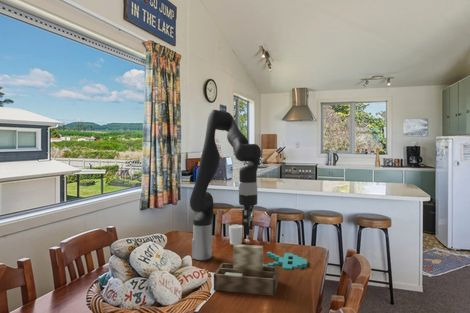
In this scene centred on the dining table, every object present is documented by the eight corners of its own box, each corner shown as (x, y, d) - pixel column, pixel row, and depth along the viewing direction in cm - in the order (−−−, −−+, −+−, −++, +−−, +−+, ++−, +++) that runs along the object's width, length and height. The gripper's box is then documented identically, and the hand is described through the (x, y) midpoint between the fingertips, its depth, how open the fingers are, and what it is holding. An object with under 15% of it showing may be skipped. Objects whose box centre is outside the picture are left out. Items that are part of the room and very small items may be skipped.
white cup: (238, 246, 185) (237, 228, 185) (226, 244, 190) (226, 226, 189) (245, 242, 192) (245, 225, 192) (233, 240, 196) (233, 224, 196)
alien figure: (262, 270, 152) (307, 274, 148) (262, 265, 151) (307, 269, 147) (267, 256, 171) (306, 258, 167) (267, 251, 171) (306, 254, 167)
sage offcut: (223, 288, 130) (223, 276, 130) (225, 284, 134) (225, 272, 134) (240, 290, 128) (240, 277, 128) (242, 285, 132) (242, 273, 132)
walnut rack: (213, 292, 129) (213, 274, 129) (221, 278, 142) (221, 262, 141) (275, 298, 124) (275, 279, 124) (277, 283, 137) (278, 266, 136)
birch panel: (233, 282, 136) (233, 246, 135) (234, 279, 139) (234, 244, 138) (262, 284, 133) (262, 248, 133) (263, 281, 136) (263, 245, 135)
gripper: (242, 190, 142) (242, 227, 143) (235, 195, 128) (235, 236, 129) (259, 190, 141) (259, 228, 141) (254, 195, 127) (254, 237, 127)
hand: (248, 232), depth 135 cm, fingers open, 8 cm apart
